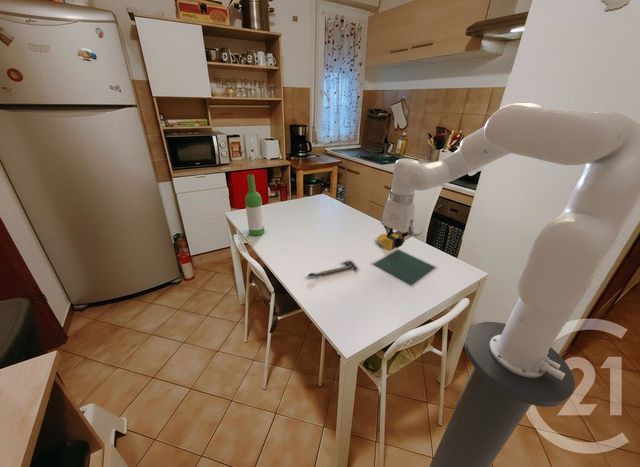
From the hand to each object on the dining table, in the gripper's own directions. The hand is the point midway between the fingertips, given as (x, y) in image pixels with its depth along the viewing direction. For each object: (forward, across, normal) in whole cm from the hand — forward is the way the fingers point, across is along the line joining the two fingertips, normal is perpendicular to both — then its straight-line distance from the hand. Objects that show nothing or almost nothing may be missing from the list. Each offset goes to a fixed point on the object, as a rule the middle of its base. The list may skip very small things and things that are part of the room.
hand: (394, 244), depth 96 cm
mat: (+15, 0, +12) cm, 19 cm away
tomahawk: (+15, -18, -14) cm, 27 cm away
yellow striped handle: (0, 0, +5) cm, 5 cm away
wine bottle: (+15, -67, -20) cm, 72 cm away
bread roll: (+15, -17, +22) cm, 32 cm away
